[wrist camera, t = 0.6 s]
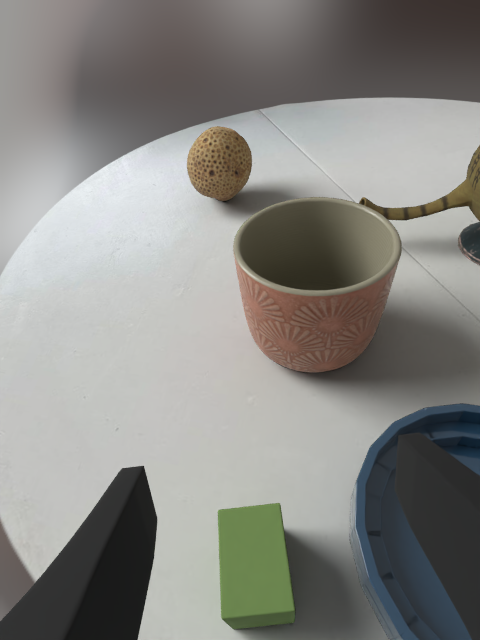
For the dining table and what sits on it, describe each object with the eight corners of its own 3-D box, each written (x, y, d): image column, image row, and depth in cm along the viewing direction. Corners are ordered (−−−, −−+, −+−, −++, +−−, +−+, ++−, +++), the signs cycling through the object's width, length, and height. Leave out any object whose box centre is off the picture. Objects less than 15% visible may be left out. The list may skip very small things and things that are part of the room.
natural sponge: (254, 216, 52) (248, 141, 45) (189, 220, 53) (173, 147, 46) (255, 183, 58) (250, 113, 51) (197, 187, 59) (184, 119, 52)
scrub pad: (294, 622, 22) (295, 611, 18) (232, 629, 22) (221, 619, 18) (281, 527, 25) (280, 502, 22) (228, 533, 26) (217, 509, 22)
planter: (350, 410, 31) (371, 317, 23) (221, 357, 36) (201, 265, 28) (393, 310, 38) (420, 212, 30) (279, 277, 43) (277, 186, 35)
